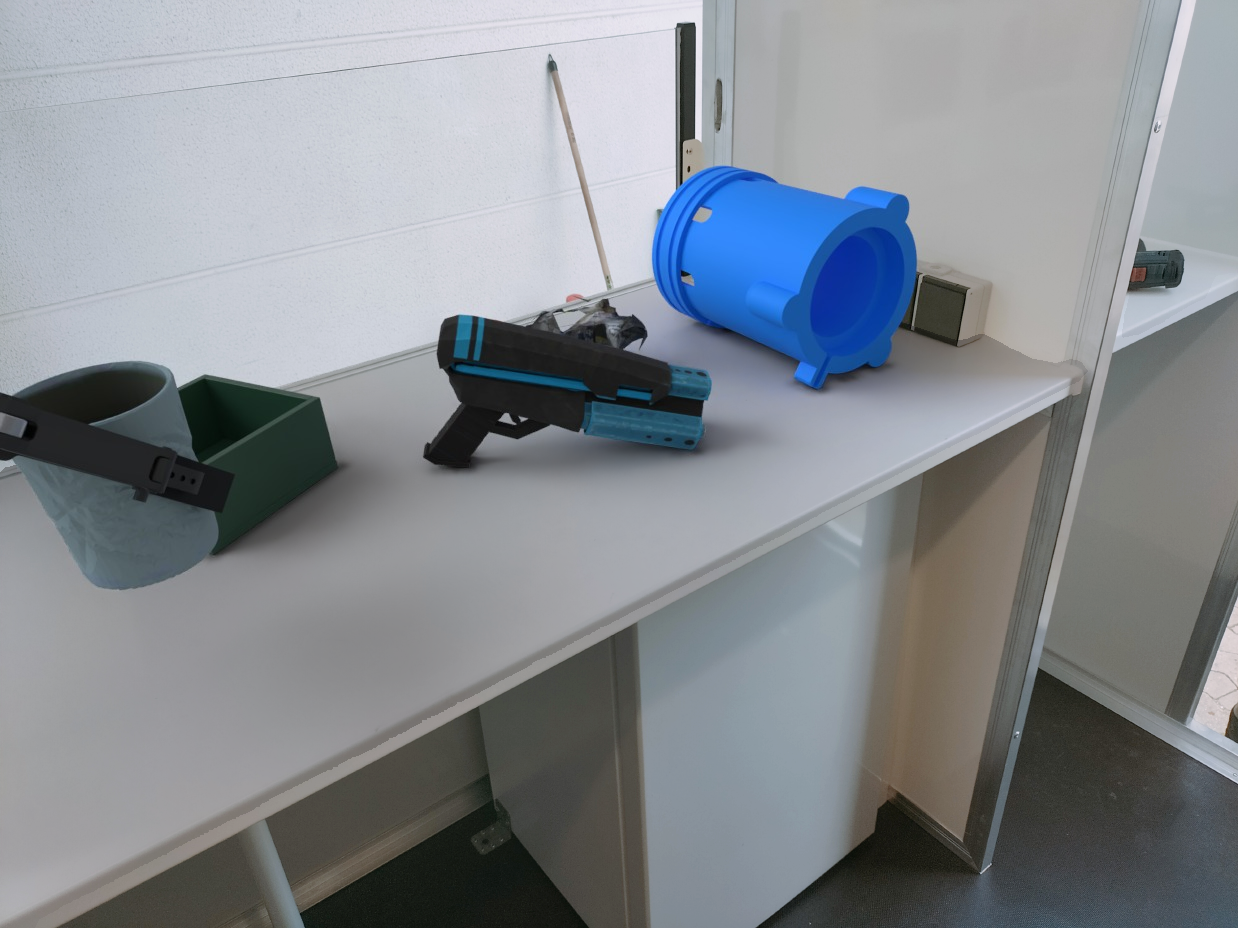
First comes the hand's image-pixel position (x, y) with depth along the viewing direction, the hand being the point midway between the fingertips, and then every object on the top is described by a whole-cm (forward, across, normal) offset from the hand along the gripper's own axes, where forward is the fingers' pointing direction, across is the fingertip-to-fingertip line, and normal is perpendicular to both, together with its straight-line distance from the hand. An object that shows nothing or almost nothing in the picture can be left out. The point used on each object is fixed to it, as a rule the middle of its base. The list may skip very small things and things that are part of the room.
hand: (167, 479), depth 59 cm
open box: (+20, -15, +1) cm, 25 cm away
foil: (+44, +6, +25) cm, 51 cm away
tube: (+54, +27, +36) cm, 70 cm away
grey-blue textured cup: (+1, 0, -5) cm, 5 cm away
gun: (+32, +14, +13) cm, 38 cm away
